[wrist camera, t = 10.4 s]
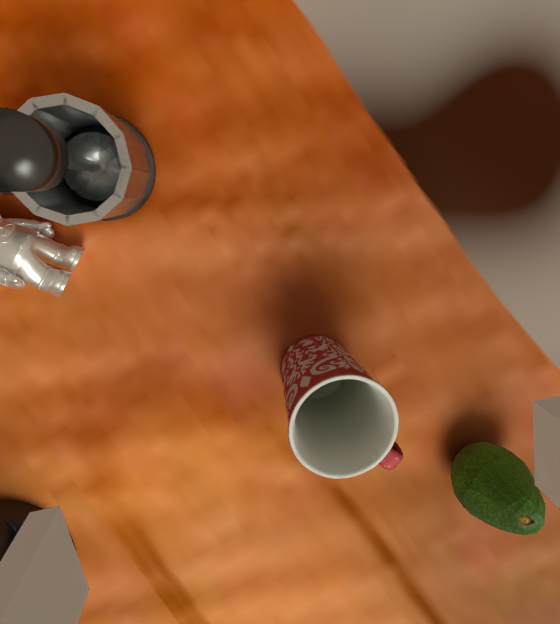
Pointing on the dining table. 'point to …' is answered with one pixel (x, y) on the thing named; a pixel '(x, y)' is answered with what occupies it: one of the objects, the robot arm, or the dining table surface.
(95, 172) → the plunger
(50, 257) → the figurine
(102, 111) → the grey coffee mug
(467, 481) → the avocado
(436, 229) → the dining table surface
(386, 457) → the mug
